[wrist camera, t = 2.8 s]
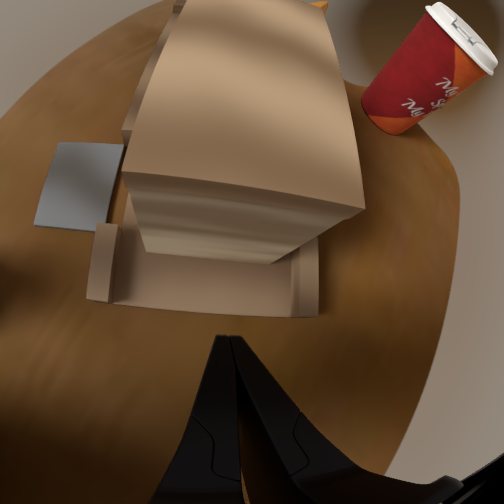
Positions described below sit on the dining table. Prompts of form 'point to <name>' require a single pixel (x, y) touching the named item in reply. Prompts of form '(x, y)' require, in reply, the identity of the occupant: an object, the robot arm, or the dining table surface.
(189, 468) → the robot arm
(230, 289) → the tan shallow tray
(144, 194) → the tea box
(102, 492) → the dining table surface
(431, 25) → the paper cup
